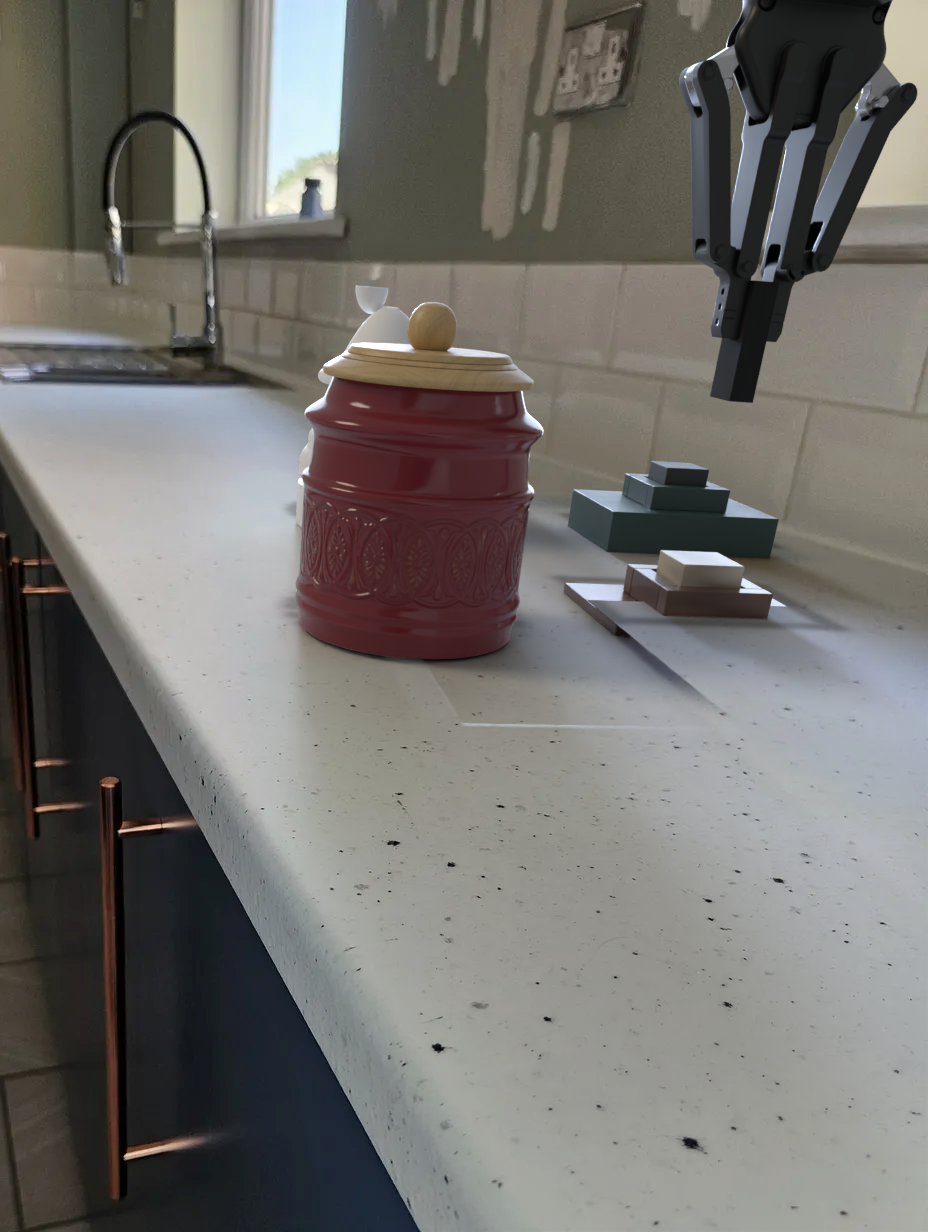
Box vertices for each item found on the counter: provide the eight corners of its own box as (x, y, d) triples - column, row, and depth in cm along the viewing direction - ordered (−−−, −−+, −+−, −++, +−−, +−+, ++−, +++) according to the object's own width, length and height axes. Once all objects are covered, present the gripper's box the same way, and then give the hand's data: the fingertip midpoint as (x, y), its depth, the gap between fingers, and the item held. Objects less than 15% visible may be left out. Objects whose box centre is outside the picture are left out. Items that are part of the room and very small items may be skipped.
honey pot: (263, 520, 92) (273, 279, 85) (361, 505, 102) (378, 286, 94) (386, 550, 85) (409, 290, 78) (480, 531, 94) (508, 296, 87)
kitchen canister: (494, 678, 59) (543, 312, 51) (261, 642, 62) (276, 292, 54) (528, 617, 70) (572, 310, 63) (330, 589, 73) (349, 293, 66)
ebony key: (687, 484, 95) (691, 462, 95) (705, 491, 92) (709, 469, 91) (646, 482, 95) (650, 460, 94) (663, 489, 92) (667, 467, 91)
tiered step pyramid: (717, 532, 101) (729, 475, 99) (770, 558, 92) (784, 496, 90) (567, 526, 99) (576, 467, 97) (606, 552, 90) (617, 488, 88)
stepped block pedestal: (754, 599, 79) (762, 563, 78) (829, 642, 70) (839, 602, 69) (563, 592, 77) (568, 556, 76) (614, 635, 68) (621, 595, 67)
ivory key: (712, 578, 75) (717, 552, 74) (739, 594, 71) (745, 566, 70) (655, 576, 74) (660, 549, 73) (679, 592, 70) (685, 564, 70)
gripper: (907, -51, 62) (800, 399, 72) (685, -81, 60) (606, 386, 70) (997, -89, 55) (864, 414, 65) (749, -123, 53) (652, 399, 63)
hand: (731, 399), depth 68 cm, fingers closed
